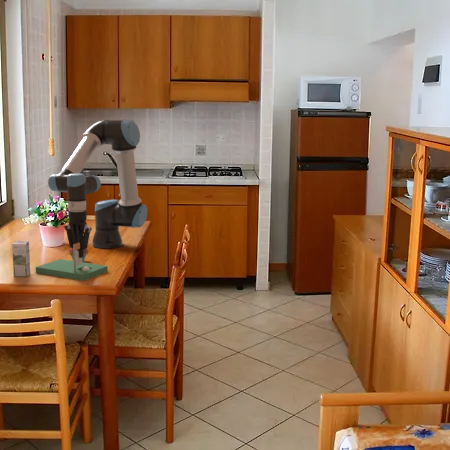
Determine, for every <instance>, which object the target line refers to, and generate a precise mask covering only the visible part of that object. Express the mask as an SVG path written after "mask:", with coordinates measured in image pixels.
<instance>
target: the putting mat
mask: <svg viewBox="0 0 450 450" xmlns="http://www.w3.org/2000/svg"><path fill="white" fill-rule="evenodd" d="M77 249H80V243H76V244H73V257H74V261H73V260H70V259H63V258H60V259H56V260H53V261H50V262H47V263H43V264H41V265H38V266H35V273H36V274H42V275H48V276H54V277H59V278H65V279H72V280H77V281H83V282H84V281H88V280H90V279H93V278H95V277H97V276H100V275H103V274H105V273H106V274H107V273H109V272H108V270H109V268H108V267H109V266H108V265H102V264H97V263H90V262H85V261H84V262H82V264H81V265H79V266H78V265H76V258H75V250H77ZM83 267H89V270H87V271H84V270H82V268H83Z"/></svg>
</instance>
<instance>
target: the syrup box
mask: <svg viewBox="0 0 450 450" xmlns="http://www.w3.org/2000/svg"><path fill="white" fill-rule="evenodd" d="M11 248H12V249H11V250H12V270H13V277H15V278H27V277H29V276H30V275H31V262H30V261H31V259H30V257H31V256H30V241H29V240H25V241H24V240H15V241H14V242H12V244H11Z"/></svg>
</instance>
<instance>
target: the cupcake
mask: <svg viewBox="0 0 450 450" xmlns="http://www.w3.org/2000/svg"><path fill="white" fill-rule="evenodd" d="M88 252H89V251H88V249H87V248H86V249H84V250H83V257H82V262H84V263H85V258H86V256H87V255H88V254H89V253H88ZM68 255H69V256H70V257H71V258H72V261H74V257H73V248H70V249H69V251H68Z"/></svg>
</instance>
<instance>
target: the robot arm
mask: <svg viewBox="0 0 450 450" xmlns="http://www.w3.org/2000/svg"><path fill="white" fill-rule="evenodd" d="M140 138H141V132H140V128H139V126H138V125H137V123H136V122H135V121H133V120H126V119H102V120H99V121H97V122H95V123H93V124H92V125H91V126H90V127H89V128H87V129H86V131H84V133H83V134H82V136H81V141H80V142H79V144H78V145H77V147H76V148H75V150H74V151H73V153H72V154H71V155H70V157H69V158H68V160H67V161H66V162H65V164H64V165H63V167H62V168H61V170H60V171H59V172H58V173H53V174H51V175H50V176H49V177H48V179H47V184H48V185H47V186H48V188H49V189H50V191H52V192H53V191H54V192H59V193H67V210H68V216H67V217H68V220H69V221H68V224H66V225H64V226H63V228H64V230H65V232H66V235H67V240H68V245H69V248H70V249H71V248H73V244H76V243H80V249H77V250H75V258H76V265H78V266H79V265H81V264H82V257H83V250H84V249H87V248H88V246H89V240H90V234H91V231H92V230H93V229H92V227H90V226H88V223H87V218H88V217H87V211H86V210H87V195H89V194H92V193H93V194H94V193H96V192H97V191H99V190H100V189H101V186H102V182H101V180H100V178H99V177H98V176H97V175H93V174H90V175H85V173H81V172H82V170H83V169H84V167H85V166H86V165H87V163H88V162H89V160H90V159H91V157H92V156H93V155H94V153H95V151H97V150H99V149H100V148H101V146H104V145H111V150H112V151H113V152H114V153H115V157H116V158H115V160H116V167H117V176H118V184H119V185H118V186H119V193H120V199H119V200H118V199H107V200H100V201H98V202H95V204H94V220H95V221H94V222H95V224H94V225H95V232H94V235H93V238H92V247H94V248H98V249H115V248H120V247H122V246H123V239H122V235H121V232H120V230H119V227H124V228H133V229H134V228H141V227H143V226H144V224H145V222H146V220H147V217H148V207H147V205H146V204H143V200H142V199H141V198H140V197H139V191H138V181H137V172H136V171H137V170H136V163H135V150H136V149H137V146H138V144H139V143H140Z"/></svg>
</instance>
